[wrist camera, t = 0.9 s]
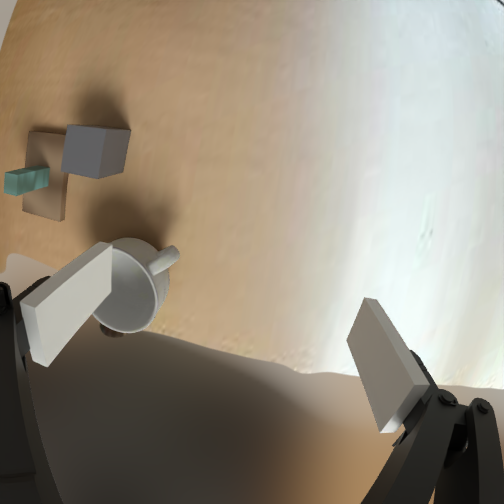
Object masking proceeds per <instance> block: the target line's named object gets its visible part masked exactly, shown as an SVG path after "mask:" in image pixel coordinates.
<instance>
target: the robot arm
mask: <svg viewBox="0 0 504 504" xmlns="http://www.w3.org/2000/svg"><path fill="white" fill-rule="evenodd" d="M111 271H112V244H109V243H105V242H101V241H100V242H98V243H97V244H95V245H94V246H92V247H91V248H90V249H88V250H87V251H85V252H84V253H83V254H81V255H80V256H78V257H77V258H76V259H74V260H73V261H71V262H70V263H69V264H67V265H66V266H65V267H63V268H62V269H61V270H59V271H58V272H57V273H55V274H54V275H53V276H46V277H44V278H41V279H39V280H37V281H36V282H35V283H33V284H32V286H29V287H28V288H27V289H26V290H24V291H23V292H22V293H20V294H19V295H18V296H17V297H15V298H14V299H13V300H12V296H11V290H10V286H9V285H8V284H6V283H4V282H0V504H64V503H63V501H62V498H61V496H60V493H59V491H58V488H57V486H56V483H55V480H54V477H53V474H52V472H51V469H50V466H49V462H48V459H47V456H46V453H45V449H44V446H43V442H42V438H41V435H40V431H39V427H38V423H37V418H36V414H35V409H34V404H33V399H32V393H31V388H30V382H29V375H28V368H27V361H26V357H25V354H26V353H27V352H28V351H29V350H30V352H31V355H32V359H33V361H35V362H37V363H39V364H41V365H43V366H46V367H48V366H49V365H50V363H51V362H52V361H53V360H54V358H55V357H56V356H57V355H58V353H59V352H60V351H61V350H62V348H63V347H64V346H65V345H66V343H67V342H68V341H69V340H70V338H71V337H72V336H73V335H74V334H75V333H76V331H77V330H78V329H79V328H80V327H81V325H82V324H83V323H84V322H85V321H86V320H87V318H88V317H89V316H90V315H91V314H92V313H93V312H94V310H95V309H96V308H97V307H98V306H99V305H100V304H101V302H102V301H103V300H104V299H105V298H106V297H107V296H108V295H109V294H110V292H111ZM346 341H347V343H348V346H349V348H350V351H351V354H352V356H353V359H354V361H355V364H356V367H357V369H358V372H359V375H360V378H361V380H362V383H363V386H364V389H365V391H366V394H367V397H368V400H369V403H370V405H371V408H372V411H373V414H374V417H375V420H376V423H377V426H378V429H379V432H380V433H390V432H396V431H397V429H398V428H399V427H400V426H401V424H402V423H403V424H404V427H405V429H406V430H405V431H404V432H403V433H402V435H401V436H400V437H399V438H398V439H397V440H396V442H395V443H394V444H393V445H392V446H393V447H394V446H395V445H396V446H395V448H394V449H393V452H392V453H391V455H390V457H389V459H388V460H387V462H386V464H385V466H384V467H383V469H382V471H381V472H380V474H379V476H378V478H377V479H376V481H375V482H374V484H373V486H372V487H371V489H370V490H369V492H368V493H367V495H366V496H365V498H364V499H363V501H362V502H361V504H428V503H429V501H430V499H431V496H432V493H433V491H434V488H435V495H434V503H433V504H504V469H503V460H502V453H501V446H500V441H499V434H498V428H497V424H496V418H495V414H494V410H493V408H492V406H491V405H490V403H489V402H487V401H486V400H484V399H482V398H475V399H474V400H473V401H472V402H471V404H470V405H469V406H465V405H461V404H458V401H457V399H456V397H455V396H454V395H453V394H452V393H450V392H449V391H446V390H444V389H438V387H437V385H436V384H435V382H434V380H433V378H432V377H431V375H430V374H429V372H428V371H427V369H426V367H425V366H424V364H423V362H422V361H421V359H420V357H419V356H418V355H417V354H416V353H414V352H413V351H412V350H409V349H408V347H407V346H406V344H405V342H404V341H403V339H402V338H401V336H400V334H399V333H398V331H397V330H396V328H395V327H394V325H393V323H392V322H391V320H390V319H389V317H388V316H387V314H386V313H385V311H384V310H383V308H382V307H381V305H380V304H379V302H378V301H377V300H376V299H371V298H365V297H364V300H363V302H362V305H361V307H360V309H359V312H358V314H357V317H356V319H355V321H354V324H353V326H352V328H351V331H350V333H349V335H348V338H347V340H346ZM466 447H467V449H466Z"/></svg>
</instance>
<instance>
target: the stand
mask: <svg viewBox="0 0 504 504" xmlns="http://www.w3.org/2000/svg"><path fill="white" fill-rule="evenodd" d="M65 137H66V134H58V133H49V132H39V131H29V137H28V145H27V152H26V161H25V168H22V169H18V170H13V171H9V172H5V180H4V193H7V194H10V195H14V196H18V195H21V194H23V209H22V211H24V212H27V213H31V214H34V215H38V216H41V217H45V218H48V219H52V220H55V221H59V222H61V221H63V220H64V218H65V203H66V192H67V182H68V173H66V172H61V164H62V156H63V149H64V143H65Z"/></svg>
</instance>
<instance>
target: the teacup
mask: <svg viewBox="0 0 504 504" xmlns="http://www.w3.org/2000/svg"><path fill="white" fill-rule="evenodd" d="M109 244H112V271H111V292H110V294H109V295H108V296H107V297H106V298H105V299H104V300H103V301H102V302H101V304H100V305H99V306H98V307H97V308H96V309H95V310H94V312H93V313H92V315H93V316H94V317H95V318H96V319H97V320H98V321H100V322H101V323H102V324H103V325H105V326H107V327H108V328H110V329H112V330H115V331H119V332H123V333H124V332H125V333H134V332H137V331H141V330H143V329H145V328H146V327H147V326H148V325H150V324H151V322H152V321H153V320H154V318H155V316H156V313H157V312H158V310H159V309H160V307H161V306H162V304H163V302H164V300H165V298H166V296H167V293H168V290H169V284H170V279H169V272H168V267H170V266H171V265H172V264H173V263H175V262H176V261H177V260H178V259H179V257H180V253H179V251H178V249H177V248H176V247H175V246H173V245H171V246H169V247H167V248H165V249H163V250H161V251H157V250H156V249H155V248H154V247H153V246H152V245H150V244H149V243H147V242H145V241H143V240H140V239H137V238H121V239H117V240H114V241H112V242H110V243H109Z"/></svg>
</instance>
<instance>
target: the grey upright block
mask: <svg viewBox="0 0 504 504" xmlns="http://www.w3.org/2000/svg"><path fill="white" fill-rule="evenodd" d="M130 133H131V130H125V129H118V128H111V127H104V126H96V125H68V126H67V131H66V137H65V143H64V149H63V156H62V164H61V172H66V173H71V174H76V175H81V176H86V177H90V178H95V179H100V178H104V177H107V176H111V175H115V174H118V173H122V172H123V170H124V164H125V158H126V153H127V148H128V143H129V138H130Z"/></svg>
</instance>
